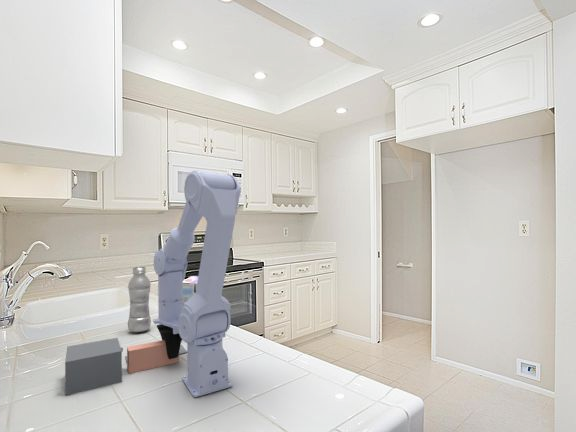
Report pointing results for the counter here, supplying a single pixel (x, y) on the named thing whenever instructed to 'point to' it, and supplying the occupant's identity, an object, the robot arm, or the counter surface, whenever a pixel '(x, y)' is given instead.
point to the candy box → (189, 287)
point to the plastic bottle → (139, 301)
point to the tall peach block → (148, 356)
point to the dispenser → (93, 365)
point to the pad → (181, 351)
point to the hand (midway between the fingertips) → (171, 355)
